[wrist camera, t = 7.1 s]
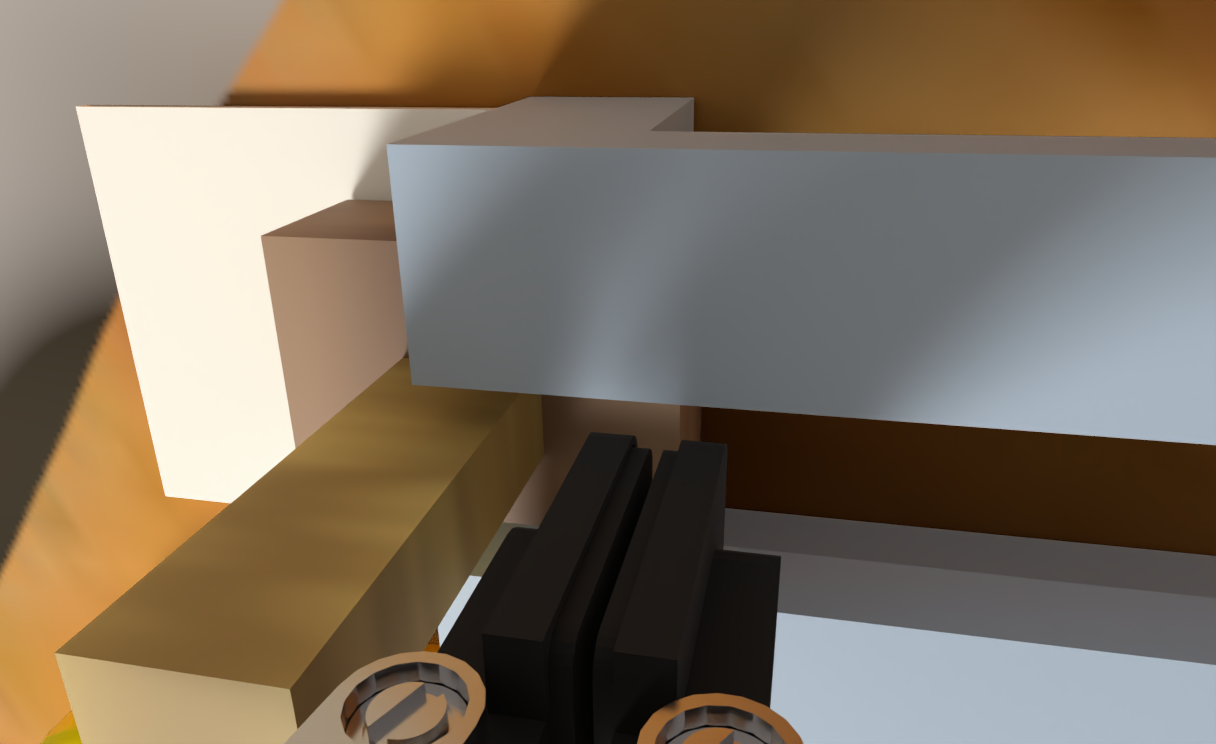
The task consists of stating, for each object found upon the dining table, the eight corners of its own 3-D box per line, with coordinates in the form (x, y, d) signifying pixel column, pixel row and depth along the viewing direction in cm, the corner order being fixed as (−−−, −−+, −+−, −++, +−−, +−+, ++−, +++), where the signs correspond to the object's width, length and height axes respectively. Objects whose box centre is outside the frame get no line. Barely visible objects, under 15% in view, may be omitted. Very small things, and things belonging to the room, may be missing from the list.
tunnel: (1581, 101, 13) (2109, 171, 8) (1384, 628, 17) (1650, 929, 11) (530, 96, 16) (385, 144, 11) (551, 538, 20) (449, 738, 15)
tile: (505, 107, 17) (499, 110, 16) (529, 527, 20) (524, 535, 20) (86, 104, 19) (75, 106, 18) (173, 489, 22) (165, 495, 22)
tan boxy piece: (706, 210, 16) (533, 515, 7) (699, 485, 18) (561, 1020, 9) (347, 199, 18) (-222, 436, 8) (379, 455, 20) (-40, 885, 10)
